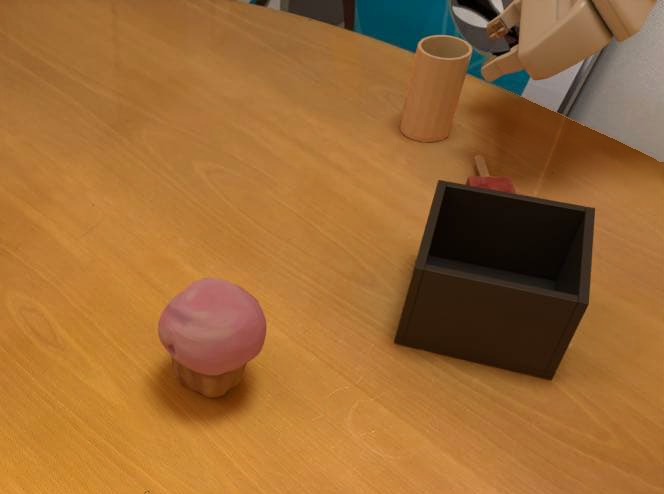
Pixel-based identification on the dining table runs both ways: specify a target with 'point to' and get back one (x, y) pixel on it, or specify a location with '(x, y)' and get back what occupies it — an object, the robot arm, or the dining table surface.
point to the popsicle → (489, 179)
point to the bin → (499, 279)
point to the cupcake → (212, 334)
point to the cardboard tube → (435, 87)
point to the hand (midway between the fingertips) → (486, 53)
